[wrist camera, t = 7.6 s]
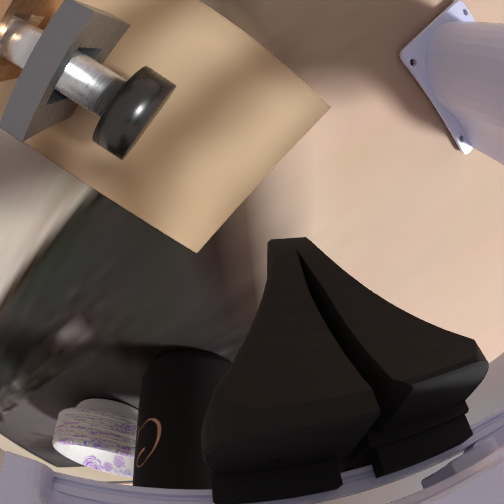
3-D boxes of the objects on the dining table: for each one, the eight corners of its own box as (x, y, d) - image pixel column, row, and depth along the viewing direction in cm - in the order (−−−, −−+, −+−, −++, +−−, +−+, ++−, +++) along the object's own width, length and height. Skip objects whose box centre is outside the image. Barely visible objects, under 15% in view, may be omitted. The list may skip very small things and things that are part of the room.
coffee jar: (147, 336, 26) (130, 538, 11) (259, 354, 29) (289, 539, 14) (141, 391, 31) (132, 539, 17) (229, 403, 34) (243, 543, 19)
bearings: (131, 25, 11) (94, 11, 7) (70, 116, 14) (21, 142, 9) (21, -28, 7) (-30, -40, 3) (-26, 55, 9) (-80, 68, 5)
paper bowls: (86, 428, 38) (80, 470, 32) (45, 378, 30) (30, 432, 23) (176, 436, 40) (176, 483, 33) (156, 390, 31) (152, 452, 25)
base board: (322, 103, 16) (331, 107, 15) (197, 240, 21) (196, 253, 20) (51, -65, 7) (41, -70, 6) (-36, 86, 11) (-49, 90, 10)
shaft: (181, 82, 13) (168, 89, 10) (135, 146, 14) (111, 172, 11) (-10, -21, 6) (-51, -26, 3) (-40, 36, 8) (-82, 42, 4)
